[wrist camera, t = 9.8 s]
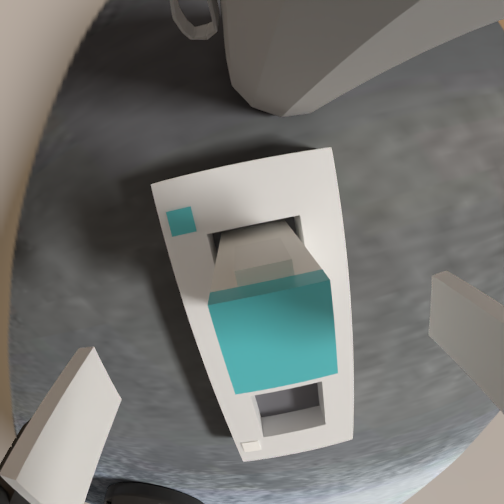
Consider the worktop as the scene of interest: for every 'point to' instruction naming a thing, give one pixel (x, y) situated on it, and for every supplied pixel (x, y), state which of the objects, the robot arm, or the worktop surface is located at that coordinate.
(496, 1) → the water bottle
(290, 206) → the panel
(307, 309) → the plug
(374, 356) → the worktop surface
